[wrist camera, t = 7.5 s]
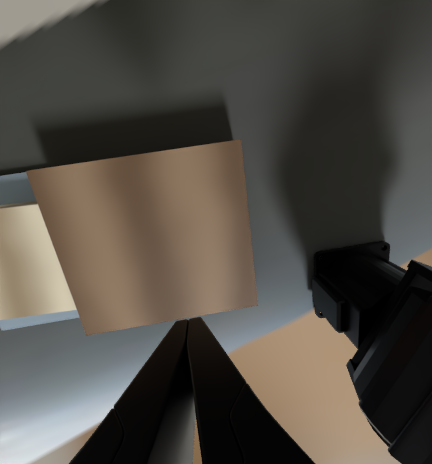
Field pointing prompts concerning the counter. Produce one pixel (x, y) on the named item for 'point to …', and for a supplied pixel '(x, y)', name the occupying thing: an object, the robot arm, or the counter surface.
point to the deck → (151, 234)
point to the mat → (20, 191)
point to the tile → (29, 265)
